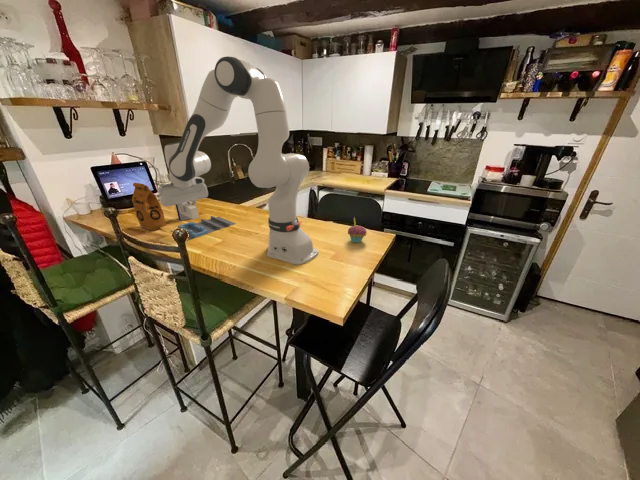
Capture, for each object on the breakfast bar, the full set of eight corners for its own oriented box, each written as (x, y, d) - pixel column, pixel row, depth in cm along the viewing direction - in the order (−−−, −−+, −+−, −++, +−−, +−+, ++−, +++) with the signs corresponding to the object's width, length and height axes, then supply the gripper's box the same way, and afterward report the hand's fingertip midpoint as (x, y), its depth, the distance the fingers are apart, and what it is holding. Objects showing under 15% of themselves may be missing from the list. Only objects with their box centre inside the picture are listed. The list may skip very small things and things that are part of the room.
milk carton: (193, 220, 140) (185, 183, 131) (179, 222, 138) (170, 184, 129) (193, 216, 146) (186, 180, 137) (180, 217, 144) (172, 181, 135)
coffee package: (149, 233, 125) (135, 188, 115) (137, 227, 131) (123, 183, 121) (170, 226, 132) (159, 183, 122) (158, 221, 138) (146, 180, 129)
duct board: (236, 225, 135) (235, 219, 133) (187, 242, 116) (186, 236, 115) (219, 218, 144) (218, 212, 142) (170, 233, 125) (169, 226, 124)
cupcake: (351, 245, 116) (353, 220, 111) (344, 237, 124) (346, 213, 118) (368, 243, 118) (371, 219, 113) (361, 235, 126) (363, 212, 121)
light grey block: (199, 217, 120) (197, 207, 118) (192, 219, 118) (190, 208, 115) (186, 211, 126) (184, 201, 124) (180, 213, 124) (177, 203, 122)
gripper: (160, 186, 106) (168, 218, 112) (207, 178, 120) (212, 206, 126) (153, 184, 109) (162, 215, 115) (200, 176, 124) (205, 204, 130)
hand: (188, 210), depth 121 cm, fingers closed on light grey block, 3 cm apart
